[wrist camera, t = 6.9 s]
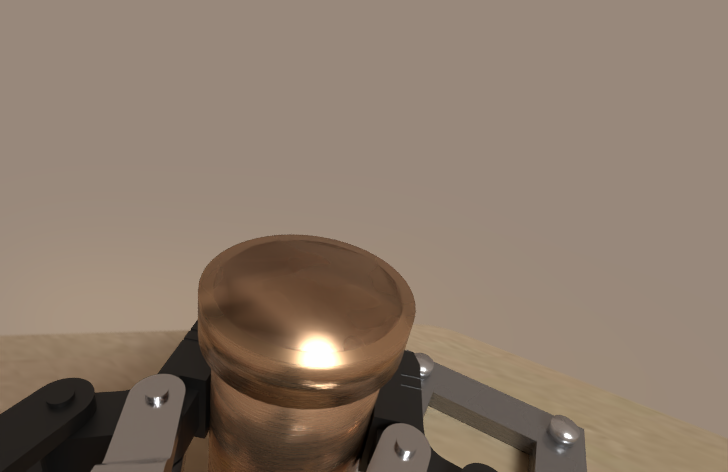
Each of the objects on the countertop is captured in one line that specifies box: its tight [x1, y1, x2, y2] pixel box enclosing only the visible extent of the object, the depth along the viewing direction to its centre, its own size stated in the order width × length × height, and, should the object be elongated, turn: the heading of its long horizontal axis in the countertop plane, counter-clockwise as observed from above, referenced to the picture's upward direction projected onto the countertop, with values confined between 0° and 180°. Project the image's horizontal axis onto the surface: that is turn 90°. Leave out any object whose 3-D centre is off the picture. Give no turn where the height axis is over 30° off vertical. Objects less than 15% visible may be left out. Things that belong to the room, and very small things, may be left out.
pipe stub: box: [198, 235, 416, 472], centre depth 12 cm, size 5×5×10 cm
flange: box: [356, 350, 587, 472], centre depth 22 cm, size 12×12×2 cm
